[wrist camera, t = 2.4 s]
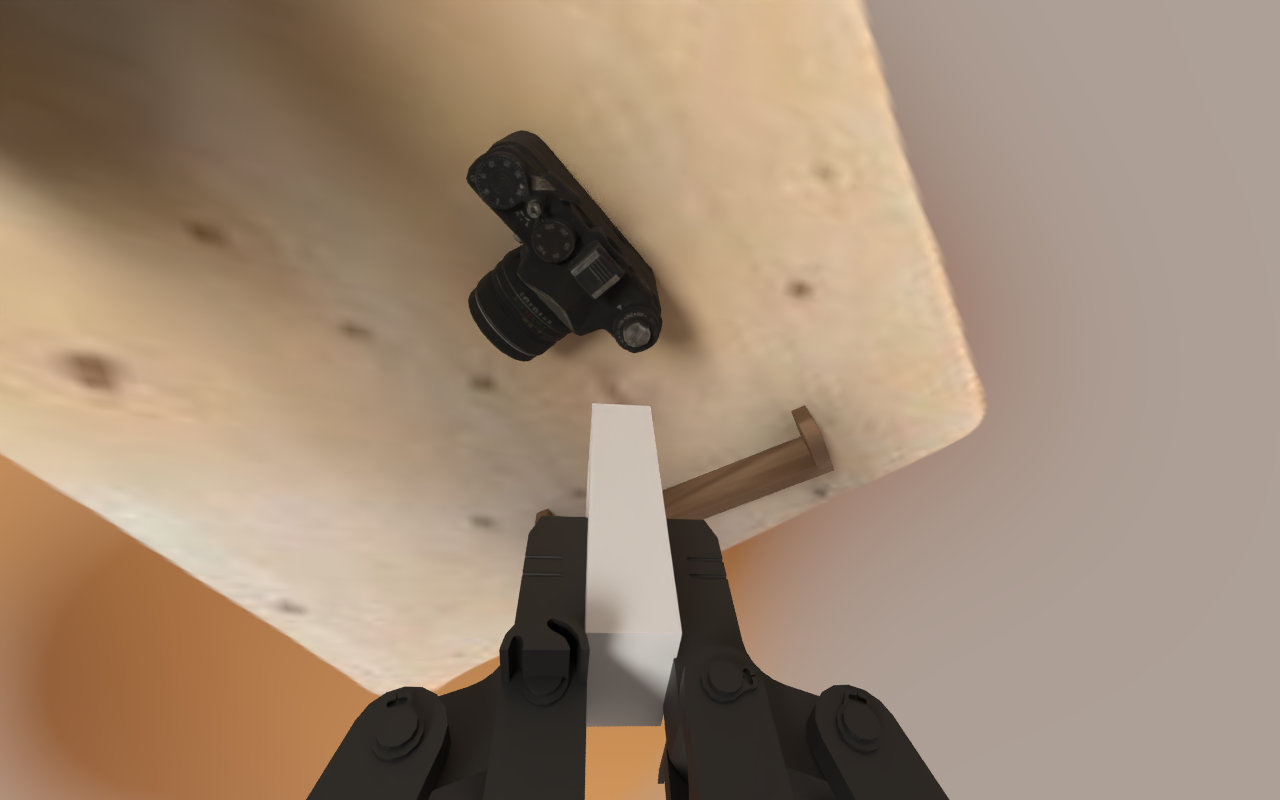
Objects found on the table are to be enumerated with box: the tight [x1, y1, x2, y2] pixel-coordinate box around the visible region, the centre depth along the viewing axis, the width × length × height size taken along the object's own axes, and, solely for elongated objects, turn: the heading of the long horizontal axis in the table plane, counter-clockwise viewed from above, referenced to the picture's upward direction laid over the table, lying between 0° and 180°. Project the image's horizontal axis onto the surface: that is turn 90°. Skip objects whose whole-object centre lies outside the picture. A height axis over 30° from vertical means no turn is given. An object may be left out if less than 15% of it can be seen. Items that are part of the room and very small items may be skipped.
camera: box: [466, 131, 662, 361], centre depth 33 cm, size 14×11×10 cm
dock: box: [535, 406, 834, 524], centre depth 47 cm, size 4×26×4 cm, turn 115°
